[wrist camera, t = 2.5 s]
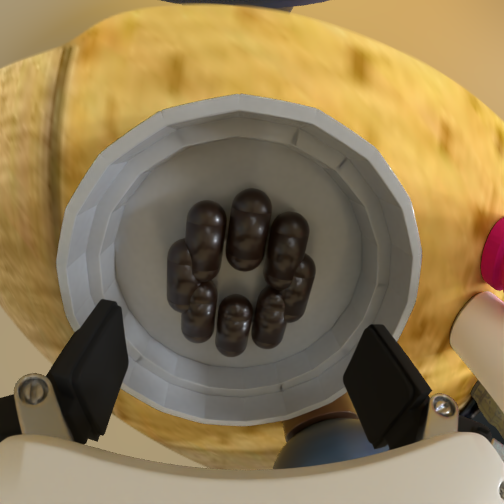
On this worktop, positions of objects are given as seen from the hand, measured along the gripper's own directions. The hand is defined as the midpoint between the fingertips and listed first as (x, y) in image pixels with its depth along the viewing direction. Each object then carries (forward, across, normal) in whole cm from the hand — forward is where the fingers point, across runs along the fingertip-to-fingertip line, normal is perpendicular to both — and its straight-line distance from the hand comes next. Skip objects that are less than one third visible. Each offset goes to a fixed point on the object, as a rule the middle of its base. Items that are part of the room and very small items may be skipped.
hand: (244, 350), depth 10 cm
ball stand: (+6, -8, +11) cm, 15 cm away
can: (+6, -22, +2) cm, 23 cm away
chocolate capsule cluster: (+5, 0, -1) cm, 5 cm away
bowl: (+6, 0, -1) cm, 6 cm away
